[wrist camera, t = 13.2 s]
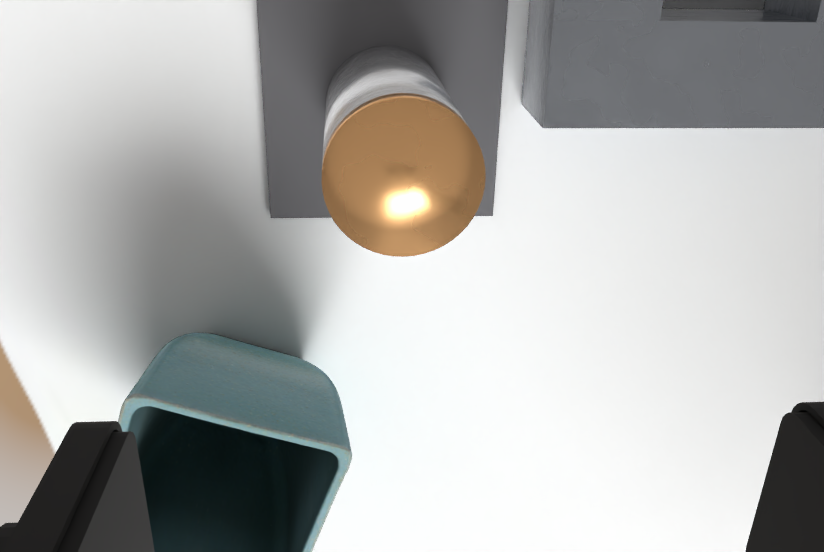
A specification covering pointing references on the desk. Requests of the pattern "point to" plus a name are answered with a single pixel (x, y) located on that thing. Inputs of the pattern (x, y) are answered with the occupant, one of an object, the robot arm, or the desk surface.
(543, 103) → the housing
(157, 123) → the desk surface
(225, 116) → the desk surface
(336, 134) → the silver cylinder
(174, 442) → the flower pot
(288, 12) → the mat
